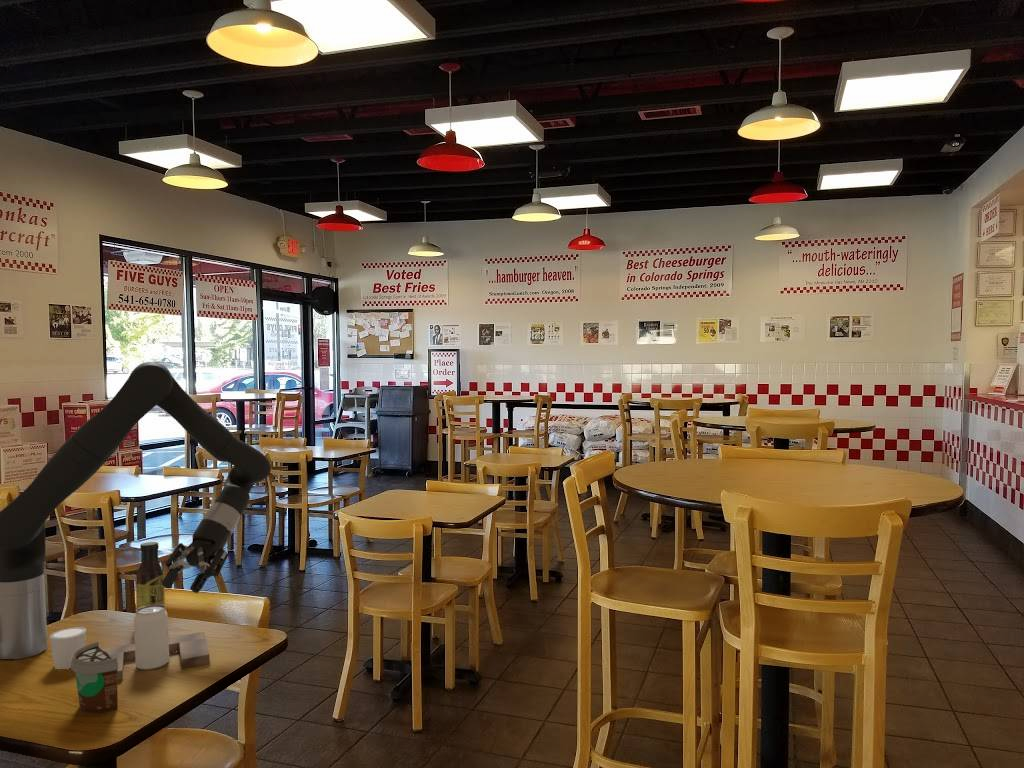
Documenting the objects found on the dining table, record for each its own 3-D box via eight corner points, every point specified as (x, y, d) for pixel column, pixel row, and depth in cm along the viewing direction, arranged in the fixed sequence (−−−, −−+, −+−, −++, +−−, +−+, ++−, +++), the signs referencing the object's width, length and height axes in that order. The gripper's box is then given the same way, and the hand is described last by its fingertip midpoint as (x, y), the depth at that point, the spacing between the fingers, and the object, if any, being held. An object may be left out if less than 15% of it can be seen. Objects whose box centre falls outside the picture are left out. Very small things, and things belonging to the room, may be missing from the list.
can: (155, 671, 155) (153, 615, 155) (128, 669, 157) (126, 613, 156) (175, 659, 162) (173, 604, 161) (149, 657, 163) (147, 603, 163)
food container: (64, 701, 143) (62, 650, 142) (99, 690, 147) (97, 640, 147) (83, 723, 134) (80, 668, 133) (120, 711, 138) (117, 658, 138)
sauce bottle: (154, 628, 180) (151, 547, 180) (131, 627, 181) (128, 546, 181) (171, 619, 187) (168, 540, 186) (148, 618, 188) (145, 540, 187)
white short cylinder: (76, 655, 165) (75, 624, 164) (94, 661, 161) (93, 629, 161) (44, 667, 159) (42, 635, 159) (61, 673, 155) (60, 640, 155)
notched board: (91, 685, 149) (91, 675, 149) (96, 658, 163) (95, 649, 163) (209, 663, 159) (209, 654, 159) (204, 640, 172) (204, 631, 172)
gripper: (185, 515, 176) (145, 577, 166) (231, 520, 170) (193, 584, 160) (203, 532, 181) (166, 593, 171) (249, 537, 175) (213, 600, 165)
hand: (179, 589), depth 165 cm, fingers open, 8 cm apart
